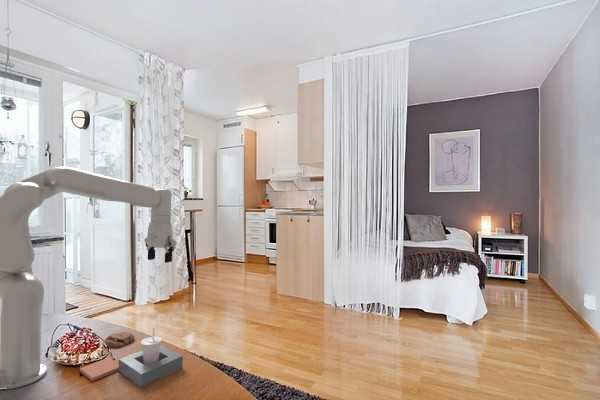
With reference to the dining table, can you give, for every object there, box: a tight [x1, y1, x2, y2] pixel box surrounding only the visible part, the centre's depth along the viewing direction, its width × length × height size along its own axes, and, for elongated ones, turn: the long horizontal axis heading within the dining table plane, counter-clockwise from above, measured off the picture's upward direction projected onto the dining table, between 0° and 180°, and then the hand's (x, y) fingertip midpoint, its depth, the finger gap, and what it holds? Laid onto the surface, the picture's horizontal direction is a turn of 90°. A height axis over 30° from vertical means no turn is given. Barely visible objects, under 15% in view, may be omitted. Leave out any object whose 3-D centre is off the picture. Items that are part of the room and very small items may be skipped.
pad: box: [79, 356, 119, 382], centre depth 104 cm, size 9×9×1 cm
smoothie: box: [140, 326, 163, 366], centre depth 105 cm, size 6×6×14 cm
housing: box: [117, 344, 184, 388], centre depth 105 cm, size 14×14×4 cm
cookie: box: [103, 331, 135, 349], centre depth 124 cm, size 10×11×3 cm
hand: (159, 260), depth 132 cm, fingers open, 9 cm apart
